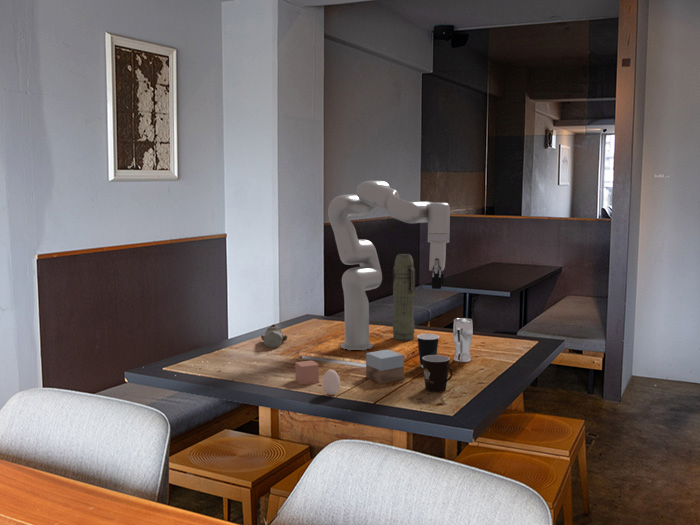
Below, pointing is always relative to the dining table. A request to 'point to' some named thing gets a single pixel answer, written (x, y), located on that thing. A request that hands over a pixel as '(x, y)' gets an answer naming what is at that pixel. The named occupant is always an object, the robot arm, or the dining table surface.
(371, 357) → the slate block
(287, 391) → the dining table surface
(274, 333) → the ceramic sculpture
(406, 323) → the thermos
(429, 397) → the dining table surface
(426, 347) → the dixie cup
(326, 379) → the egg
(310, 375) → the rust cube
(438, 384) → the coffee mug
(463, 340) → the beer glass
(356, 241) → the robot arm
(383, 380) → the walnut block
